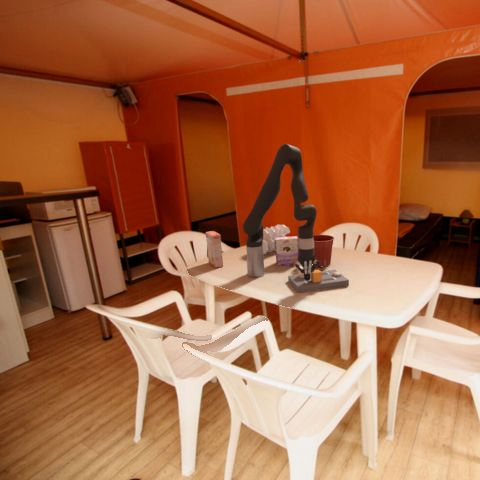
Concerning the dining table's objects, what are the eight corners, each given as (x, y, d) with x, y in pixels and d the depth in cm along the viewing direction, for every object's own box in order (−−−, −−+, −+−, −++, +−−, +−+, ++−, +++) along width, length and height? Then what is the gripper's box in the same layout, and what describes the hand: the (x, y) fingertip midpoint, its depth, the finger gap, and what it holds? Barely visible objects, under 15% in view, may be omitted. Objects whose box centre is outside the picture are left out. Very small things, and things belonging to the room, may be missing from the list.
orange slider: (313, 282, 161) (313, 273, 159) (310, 279, 164) (310, 270, 163) (321, 281, 161) (321, 272, 160) (318, 278, 165) (318, 269, 164)
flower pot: (334, 259, 202) (334, 234, 198) (334, 268, 186) (334, 241, 182) (307, 259, 206) (306, 234, 202) (305, 268, 191) (304, 241, 187)
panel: (298, 292, 158) (297, 285, 157) (288, 281, 174) (288, 274, 173) (348, 285, 162) (348, 278, 161) (334, 274, 177) (334, 267, 176)
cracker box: (223, 266, 205) (220, 234, 200) (214, 268, 203) (211, 235, 198) (217, 260, 218) (214, 230, 212) (208, 262, 216) (205, 231, 210)
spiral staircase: (255, 260, 226) (279, 249, 241) (270, 253, 212) (295, 243, 227) (244, 235, 227) (269, 227, 242) (259, 227, 213) (285, 218, 228)
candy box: (298, 261, 204) (297, 235, 200) (299, 264, 198) (298, 238, 194) (276, 262, 205) (274, 236, 201) (276, 265, 199) (274, 239, 195)
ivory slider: (301, 278, 168) (300, 268, 166) (298, 275, 172) (298, 266, 170) (308, 277, 168) (308, 267, 167) (305, 274, 172) (305, 265, 171)
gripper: (316, 243, 162) (317, 275, 166) (290, 246, 160) (291, 279, 164) (322, 246, 155) (322, 281, 159) (295, 250, 153) (296, 284, 157)
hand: (307, 280), depth 162 cm, fingers closed
